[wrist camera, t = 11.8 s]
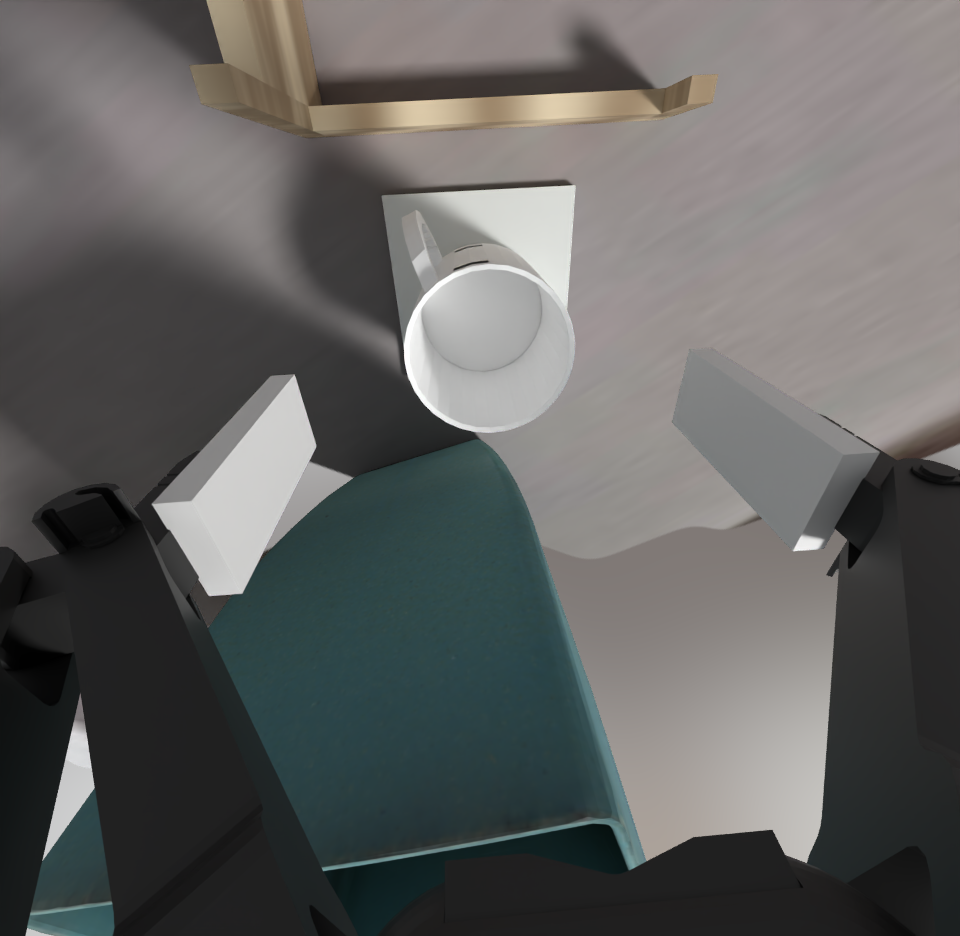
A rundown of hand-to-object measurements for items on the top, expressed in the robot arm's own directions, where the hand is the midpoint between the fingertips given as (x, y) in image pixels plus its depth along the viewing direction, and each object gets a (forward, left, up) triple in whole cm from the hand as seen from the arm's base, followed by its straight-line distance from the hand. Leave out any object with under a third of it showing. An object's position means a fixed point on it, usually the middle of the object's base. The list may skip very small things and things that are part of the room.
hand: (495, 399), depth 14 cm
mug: (0, 0, -18) cm, 18 cm away
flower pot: (-5, -19, -19) cm, 27 cm away
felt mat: (0, 0, -18) cm, 18 cm away
